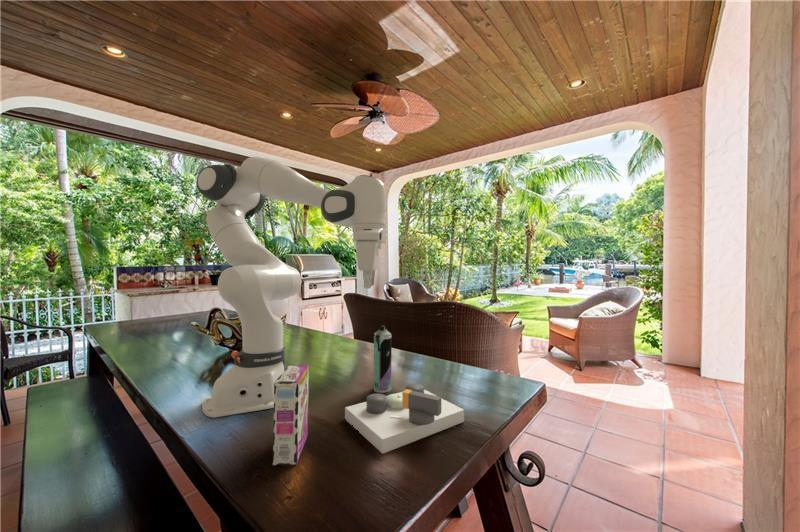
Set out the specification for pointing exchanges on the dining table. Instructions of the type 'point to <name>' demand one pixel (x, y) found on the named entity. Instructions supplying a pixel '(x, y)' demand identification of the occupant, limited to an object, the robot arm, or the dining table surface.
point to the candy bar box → (290, 415)
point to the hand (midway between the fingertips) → (369, 287)
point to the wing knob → (421, 406)
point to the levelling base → (397, 420)
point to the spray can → (382, 360)
